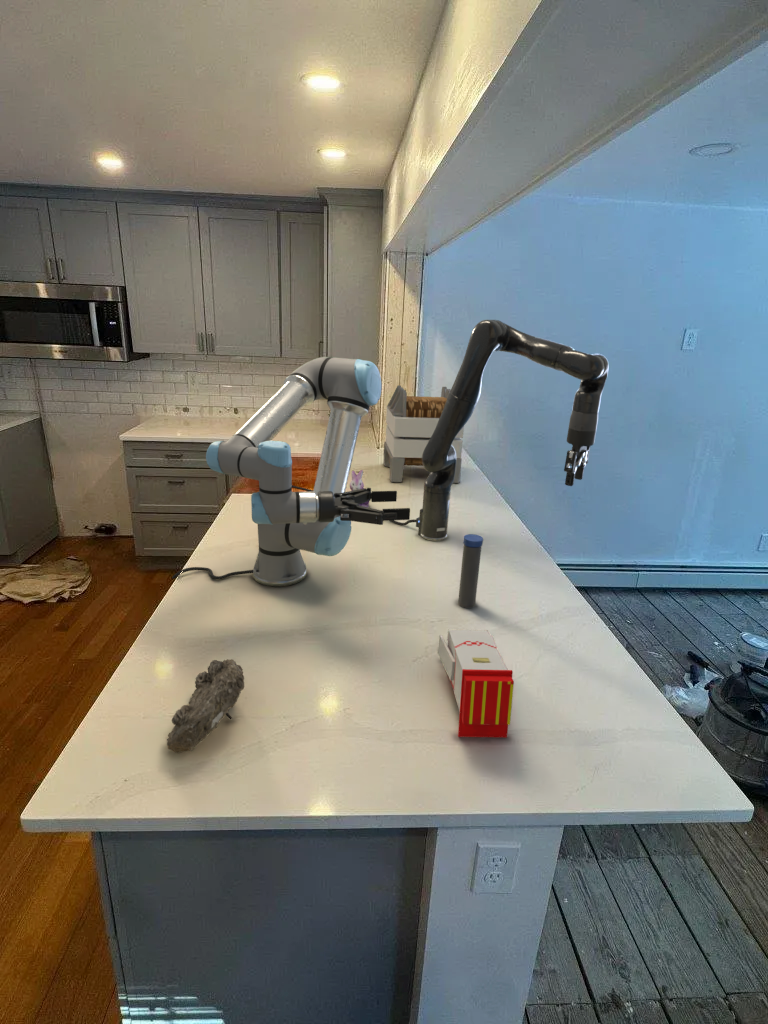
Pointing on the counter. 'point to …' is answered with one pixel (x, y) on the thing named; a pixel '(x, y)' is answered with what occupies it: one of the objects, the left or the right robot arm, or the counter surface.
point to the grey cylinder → (469, 576)
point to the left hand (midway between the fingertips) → (402, 504)
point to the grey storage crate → (414, 431)
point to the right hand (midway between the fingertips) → (573, 482)
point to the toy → (478, 682)
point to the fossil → (206, 705)
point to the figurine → (358, 484)
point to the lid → (473, 540)
